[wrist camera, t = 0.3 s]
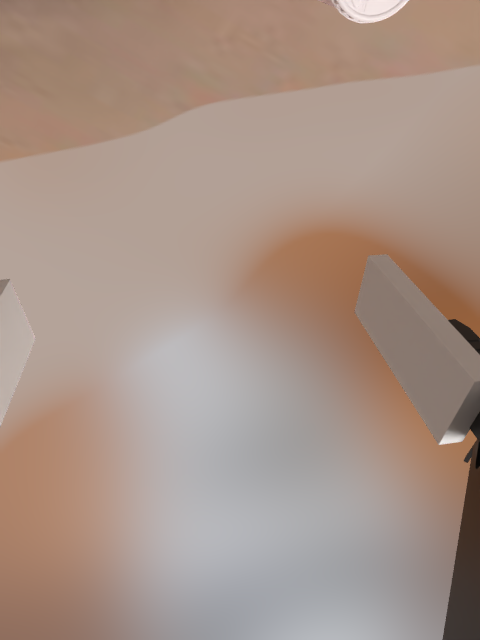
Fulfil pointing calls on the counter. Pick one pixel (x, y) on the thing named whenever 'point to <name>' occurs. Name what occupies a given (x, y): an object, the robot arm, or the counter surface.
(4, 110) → the counter surface
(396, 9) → the smoothie
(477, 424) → the robot arm
